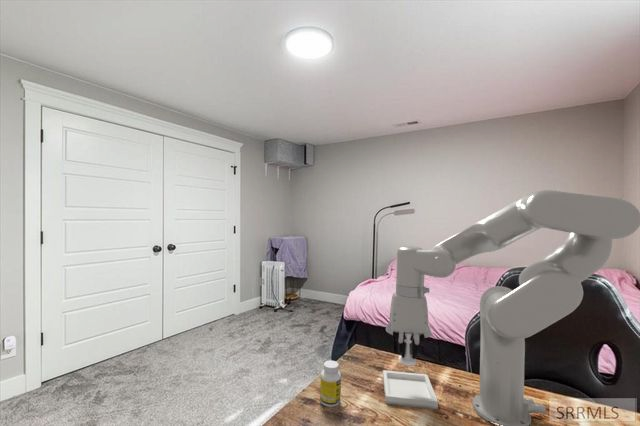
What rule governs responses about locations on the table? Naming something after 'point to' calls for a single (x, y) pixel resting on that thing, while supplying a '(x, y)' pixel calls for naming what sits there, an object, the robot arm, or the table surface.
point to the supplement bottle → (330, 384)
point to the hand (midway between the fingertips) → (407, 355)
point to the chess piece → (407, 353)
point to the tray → (409, 390)
